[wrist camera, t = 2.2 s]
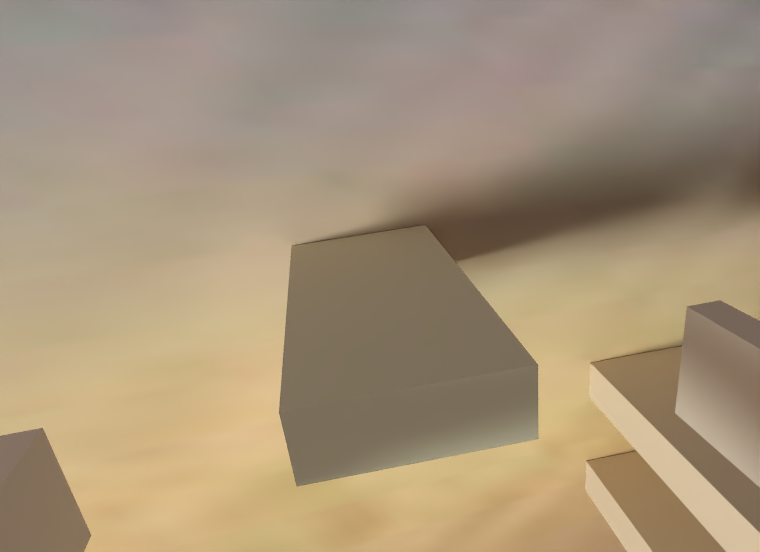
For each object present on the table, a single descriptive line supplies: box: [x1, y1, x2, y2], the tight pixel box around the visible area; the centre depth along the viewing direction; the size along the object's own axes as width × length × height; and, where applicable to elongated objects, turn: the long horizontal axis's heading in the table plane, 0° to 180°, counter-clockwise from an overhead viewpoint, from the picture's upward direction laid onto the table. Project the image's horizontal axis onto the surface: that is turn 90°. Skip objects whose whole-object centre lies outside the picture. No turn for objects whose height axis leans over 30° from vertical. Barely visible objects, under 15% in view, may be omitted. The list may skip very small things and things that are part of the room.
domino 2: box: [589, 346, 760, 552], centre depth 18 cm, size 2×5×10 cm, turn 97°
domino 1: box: [279, 225, 538, 486], centre depth 15 cm, size 2×5×10 cm, turn 97°
